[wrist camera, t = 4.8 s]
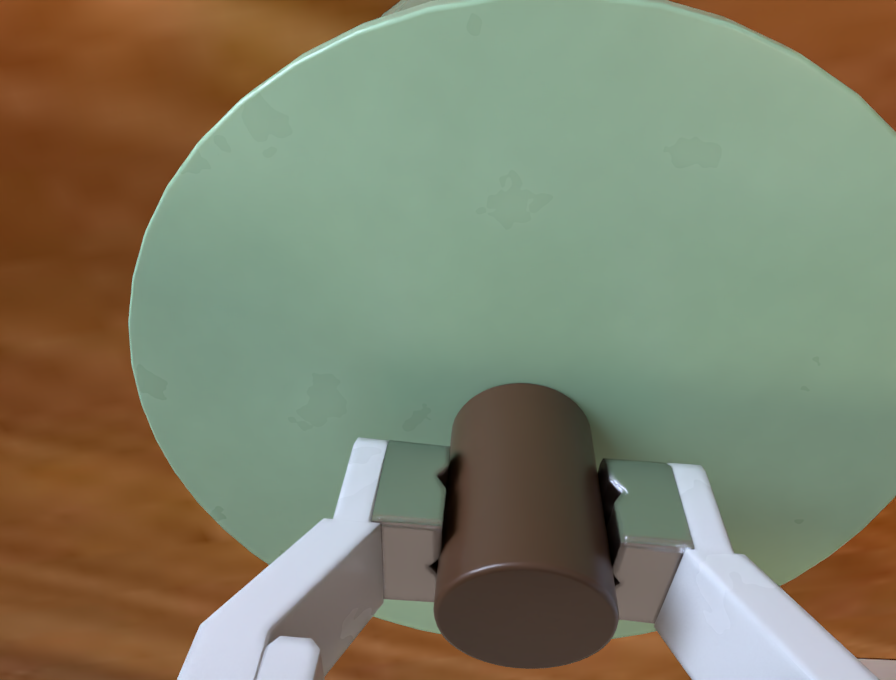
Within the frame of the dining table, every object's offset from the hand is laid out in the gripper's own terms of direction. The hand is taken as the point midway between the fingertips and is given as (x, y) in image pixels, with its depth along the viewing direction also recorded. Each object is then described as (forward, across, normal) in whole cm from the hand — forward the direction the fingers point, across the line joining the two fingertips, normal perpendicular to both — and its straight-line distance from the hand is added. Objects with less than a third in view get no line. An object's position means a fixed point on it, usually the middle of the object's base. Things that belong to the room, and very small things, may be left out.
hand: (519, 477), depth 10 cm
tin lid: (+2, 0, 0) cm, 2 cm away
